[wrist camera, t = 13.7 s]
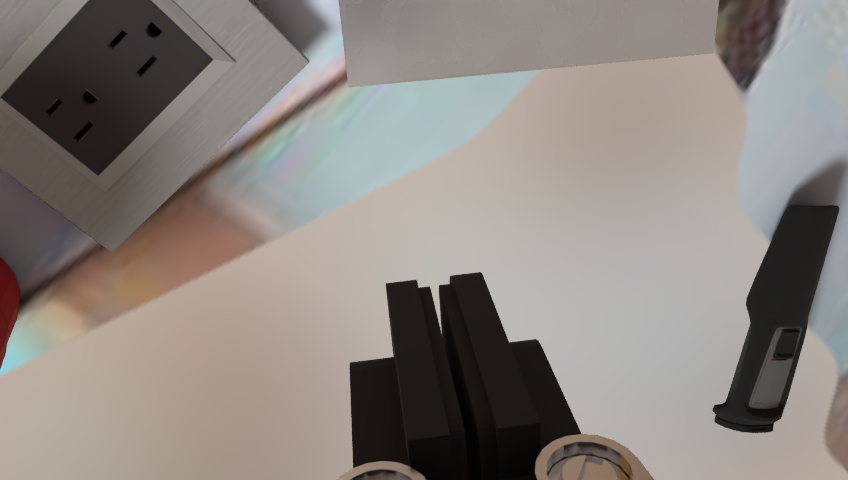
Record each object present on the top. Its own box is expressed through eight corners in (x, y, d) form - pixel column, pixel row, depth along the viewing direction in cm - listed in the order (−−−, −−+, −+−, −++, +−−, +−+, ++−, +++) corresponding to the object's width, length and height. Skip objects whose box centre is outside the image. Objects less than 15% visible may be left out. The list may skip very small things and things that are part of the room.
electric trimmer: (832, 186, 39) (871, 208, 37) (760, 414, 46) (788, 448, 43) (768, 185, 39) (802, 207, 36) (704, 416, 45) (729, 451, 43)
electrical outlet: (120, -144, 29) (103, -146, 27) (310, 52, 33) (308, 63, 31) (-75, 80, 32) (-104, 94, 30) (123, 233, 36) (110, 255, 34)
